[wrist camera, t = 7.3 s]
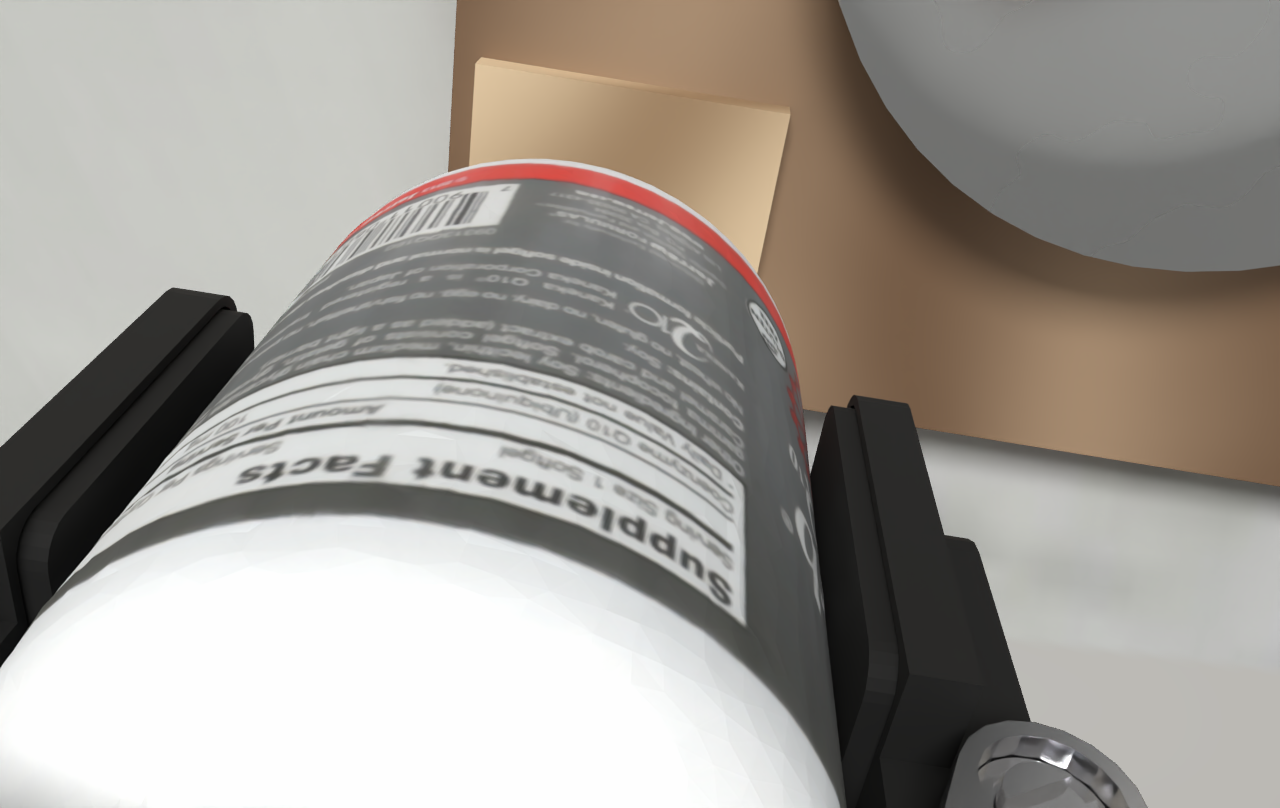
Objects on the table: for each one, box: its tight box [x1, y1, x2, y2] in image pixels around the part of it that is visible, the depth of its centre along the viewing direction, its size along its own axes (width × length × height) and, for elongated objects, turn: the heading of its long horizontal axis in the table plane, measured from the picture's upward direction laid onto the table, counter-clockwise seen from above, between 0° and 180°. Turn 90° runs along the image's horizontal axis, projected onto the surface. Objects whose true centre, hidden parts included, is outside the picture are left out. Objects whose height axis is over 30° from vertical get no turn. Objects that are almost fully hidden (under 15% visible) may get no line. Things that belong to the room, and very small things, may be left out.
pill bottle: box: [0, 159, 847, 808], centre depth 9 cm, size 6×6×10 cm
